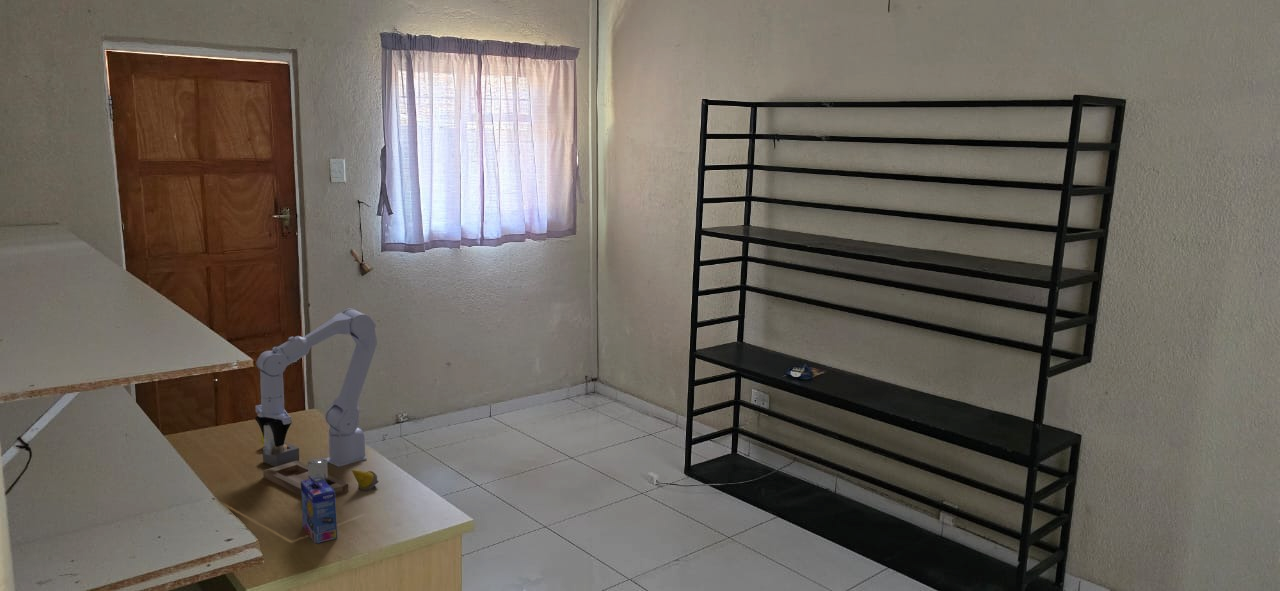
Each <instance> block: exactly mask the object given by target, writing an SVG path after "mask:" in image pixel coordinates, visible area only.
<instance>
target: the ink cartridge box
mask: <svg viewBox="0 0 1280 591" xmlns="http://www.w3.org/2000/svg"><path fill="white" fill-rule="evenodd" d="M309 478H310V479H311V480H305V481H302V482H301V495H302V496H301V509H302V510H301V512H302V513H301V514H302V516H301V517H302V527H303V528H304V530H305V531H306V532H307V535H308V536H309V538H310V539H311V540H312V541H313V542H314V544H319V543H323V542H327V541H332V540H336V539H338V523H337V522H338V521H337V507H336V506H337V505H336V503H337V502H336V496H335V490H334V489H333V488H332V487H331V486H329V485H328V484H327V482H326V481H325V480H324V479H323V478H321V477H320V478H316V479H312V478H311V477H310V476H309Z"/></svg>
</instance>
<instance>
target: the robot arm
mask: <svg viewBox="0 0 1280 591" xmlns="http://www.w3.org/2000/svg"><path fill="white" fill-rule="evenodd" d="M339 334H341V335H348V336H349V335H350V336H351V338H352V339H353V341H354V343H355V347H354V351H353V354H352V357H351V360H350V363H349V364H348V369H347V370H346V371H347V372H346V374H345V378H344V380H343V383H342V387H341V390H340V393H339V395H338V396H337V397H336V398H335V399H334V400H333V401H332V404H331V406H329V408H328V409H327V410H326V412H325V415H324V416H325V417H324V418H325V422H326V423H327V425H329V430H328V450H329V452H328V453H329V456H328V457H325V458H324V459H326V460H327V463H329V464H331V465H334V466H335V467H338V468H340V467H343V466H346V465H349V464H354V463H356V462H359V461H361V462H362V461H364V460H367V458H368V457H367V456H366V441H365V434H364V431H363V430H362V429H361V427H360V428H359V427H358V426H359V423H360V421H359V414H360V406H359V399H360V397H361V396H360V395H361V393H362V390H363V388H364V384H365V381H366V378H367V374H368V372H369V369H370V366H371V363H372V360H373V358H374V354H375V351H376V348H377V345H378V341H377V334H376V322H374V320H373V319H372V317H371V316H370V315H368V314H366V313H363V312H360V311H358V310H357V309H355V308H346V309H344V310H343V311H342V312H338V313H336V314H335V315H333V317H332V318H330V319H329V320H328V321H326V322H324V323H323V324H321V325H320V326H318V327H317V328H315V329H314V330H312V331H310V332H309V333H307V334H306V335H304V336H300V335H296V336H289V337H288V339H287V341H285V342H284V343H281V344H280V345H278V346H273V347H272V350H265V351H263V352H262V353H260V354H259V357H258V358H257V360H256V361H255V365H256V367H257V368H258V369H259V372H260V373H259V374H260V379H259V380H260V381H259V382H260V384H259V386H260V404H257V405H255V413H256V414H257V416H255V418H254V419H255V421H256V423H257V424H258V426H259V428H260V430H261V435H262V434H263V437H264V424H265V423H267V422H271V421H275V422H271V423H269V426H270V427H271V429H272V432H273V436H274V443H275V446H276V447H278V446H282V445H284V442H286V441H285V440H286V437H287V434H288V431H289V428H290V427H291V425H292V423H293V422H292V416H291V415H289V413H288V412H287V411H286V409H285V394H284V393H285V392H284V391H285V390H284V372H285V371H286V368H287V367H288V366H289V365H291V364H293V363H294V362H297V361H298V360H300V359H302V358H304V356H306V355H309V353H310V349H311V348H312V347H313V346H316V345H318V344H319V343H321V342H323V341H325V340H327V339H330V338H331V337H333V336H335V335H339Z"/></svg>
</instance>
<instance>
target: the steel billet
mask: <svg viewBox="0 0 1280 591" xmlns="http://www.w3.org/2000/svg"><path fill="white" fill-rule="evenodd" d="M271 422H275V421H271ZM271 422H267V423H265V424H264V444H263V445H264V448H265V454H267V455H278V454H281V453H283V452H284V445H282V446H278V447H276V446H275V443H274V436H273V432H272V429H271V427H270V426H269V423H271Z"/></svg>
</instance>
